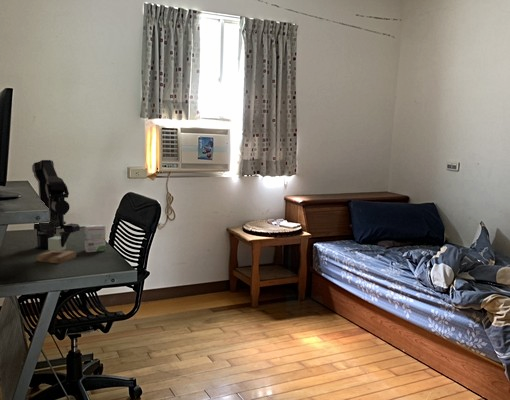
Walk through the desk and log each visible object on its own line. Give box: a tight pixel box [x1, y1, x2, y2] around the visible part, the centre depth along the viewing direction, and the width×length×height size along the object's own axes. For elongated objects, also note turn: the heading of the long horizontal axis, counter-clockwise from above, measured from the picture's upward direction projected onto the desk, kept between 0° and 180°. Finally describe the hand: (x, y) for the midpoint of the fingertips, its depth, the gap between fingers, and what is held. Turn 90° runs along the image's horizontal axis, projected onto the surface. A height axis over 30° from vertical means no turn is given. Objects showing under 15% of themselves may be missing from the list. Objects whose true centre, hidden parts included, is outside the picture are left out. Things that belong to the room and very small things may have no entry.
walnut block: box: [36, 249, 77, 264], centre depth 209 cm, size 11×11×3 cm
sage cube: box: [47, 235, 67, 251], centre depth 209 cm, size 5×5×5 cm
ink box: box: [84, 224, 107, 253], centre depth 225 cm, size 8×5×12 cm, turn 119°
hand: (57, 246), depth 209 cm, fingers closed on sage cube, 5 cm apart
